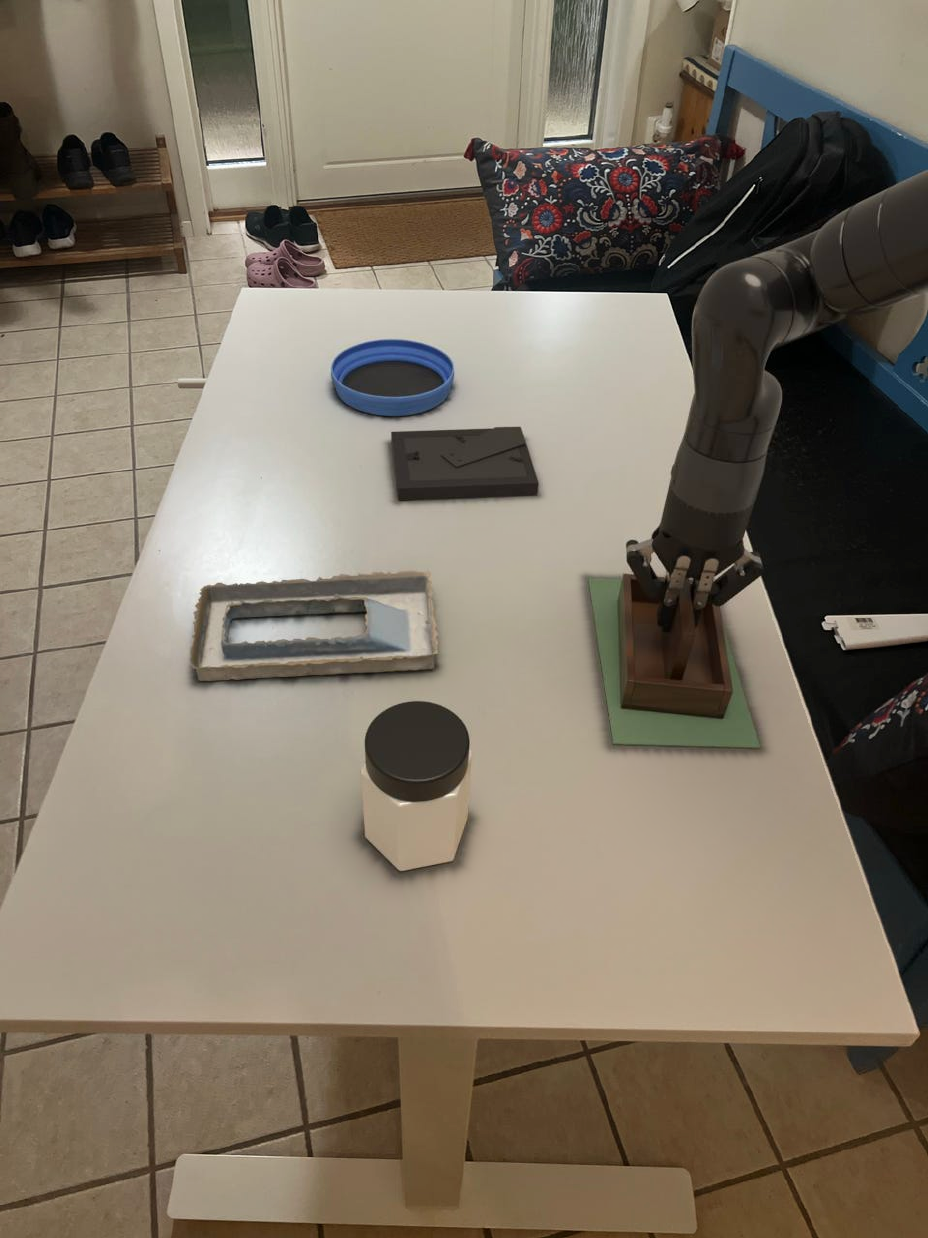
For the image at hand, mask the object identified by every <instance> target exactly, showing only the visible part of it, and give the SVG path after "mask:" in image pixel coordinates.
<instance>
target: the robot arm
mask: <svg viewBox="0 0 928 1238" xmlns="http://www.w3.org/2000/svg"><path fill="white" fill-rule="evenodd" d="M927 293H928V169H926V170H924V171H921V172H920V173H917V174H915V175H913V176H910V177H909V178H906V179H905V180H901V181H900V182H897V183H896V184H894V185H892V186H889V187H888V188H886V189H883V190H882V191H880V192H878V193H876V194H874V195H872V196H869V197H868V198H865V199H864V200H861V201H860V202H857V203H855V204H854V205H852V206H850V207H847V208H846V209H844V210H843V211H841V212H840V213H837V214H835V216H833V217H831V218H830V219H829V220H828V221H826V223H824V224H823V225H822V227H820V228H819V229H816V230H813V232H810V233H808V234H806V235H804V236H802V237H799V238H796V239H794V240H792V241H789V242H787V243H784V244H782V245H780V246H777V247H774V248H772V249H768V250H765V251H763V252H759V253H757V254H754V255H751V256H748V257H745V258H741V259H738V260H735V261H732V262H730V263H727V264H725V265H723V266H722V267H719V269H717V270H715V272H713V273H712V275H711V276H710V277H709V278H708V279H707V281H706V282H705V283H704V285H703V287H702V289H701V291H700V293H699V295H698V296H697V299H696V302H695V305H694V309H693V313H692V318H691V351H692V355H691V356H692V375H693V387H694V388H693V389H694V392H693V396H692V399H691V403H690V408H689V411H688V416H687V420H686V425H685V429H684V433H683V437H682V439H681V442H680V445H679V446H678V449H677V451H676V456H675V459H674V463H673V464H672V465H671V470H670V480H669V483H668V489H667V493H666V497H665V502H664V507H663V510H662V515H661V519H660V522H659V525H658V526H657V527H656V529H655V530H654V531H653V532H652V534H651V537H650V538H649V539H646V540H643V541H640V542H638V540H636V539H629V540H628V541H626V543H625V554H626V556H625V557H626V563H627V565H628V566H629V569H630V570H631V573H632V574H634V575H635V577H636V579H637V581H638V582H639V584H640V586H641V588H642V589H643V591H644V593H645V594H646V596H647V598H648V599H651V600H655V599H659V600H660V602H659V606H658V610H657V623H658V626H660V627H662V632H670V630H671V626H672V622H673V618H674V615H675V611H676V602H677V599H678V595H679V592H680V590H682V587H683V583H684V580H685V578H689V579H692V580H693V581H692V585H691V598H692V606H693V614H694V623H695V628H696V627H697V624H698V621H699V618H700V614H701V611H702V608H704V607H705V605H708V604H713V605H715V606H720V607H722V606H724V605H725V604H726V603H728V602H729V601H730V600H732V599H733V598H734V597H736V596H737V595H738V594H740V593H741V592H742V591H743V590H745V589H746V588H748V586H750V585H751V584H752V583H754V582H755V581H756V580H757V579H759V578H760V577H761V576H763V574H764V568H763V562H762V559H761V558H762V557H761V555H760V553H759V552H758V551H755V550H754V551H749V550H748V549H746V548H745V545H744V537H745V534H746V531H747V528H748V525H749V522H750V519H751V516H752V511H753V510H754V505H755V504H756V503H755V502H756V499H757V496H758V493H759V489H760V486H761V483H762V480H763V477H764V474H765V473H764V472H765V470H766V469H765V468H766V462H767V455H768V452H769V451H768V450H769V448H770V444H771V442H772V438H773V434H774V433H775V428H776V425H777V422H778V418H779V415H780V411H781V407H782V402H783V389H782V386H781V384H780V383H779V381H778V379H777V377H775V375H773V374H771V373H770V372H769V371H767V370H765V368H766V364H767V361H768V358H769V356H770V354H771V353H772V351H774V350H776V349H779V348H781V347H783V346H786V345H788V344H791V343H792V342H796V341H797V340H800V339H802V338H805V337H807V336H810V335H812V334H814V333H817V332H819V331H821V330H823V329H827V328H828V327H831V326H832V325H835V324H837V323H840V322H842V321H844V320H846V319H849V318H851V317H853V316H861V315H866V314H867V315H868V314H870V313H874V312H878V311H881V310H884V309H888V308H889V307H892V306H894V305H895V306H896V305H898V304H900V303H903V302H906V301H909V300H912V299H915V298H917V297H919V296H922V295H925V294H927ZM653 553H655V555H656V557H657V558H658V561H660V563H661V564H662V566H663V568H664V569H665V575H664V577H665V578H664V582H663V581H661V580H658V577H659V576H658V575H657V574H656V572H655V570H654V568H653V566H652V565H651V562H652V554H653ZM729 567H730V568H729ZM725 570H726V571H725ZM722 572H723V573H722ZM721 573H722V574H721ZM720 574H721V575H720ZM717 576H718V577H717ZM715 577H717V578H716V579H715ZM714 579H715V580H714Z"/></svg>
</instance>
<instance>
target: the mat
mask: <svg viewBox="0 0 928 1238" xmlns="http://www.w3.org/2000/svg"><path fill="white" fill-rule="evenodd" d="M587 582H588V589H589V594H590V601H591V607H592V612H593V613H592V615H593V621H594V628H595V635H596V640H597V647H598V655H599V661H600V667H601V674H602V680H603V687H604V693H605V694H604V695H605V700H606V707H607V713H608V714H607V715H608V721H609V728H610V734H611V740H612V745H614V746H615V745H616V746H645V747H647V746H648V747H649V746H651V747H683V748H684V747H688V748H689V747H690V748H720V749H721V748H722V749H755V750H756V749H758V750H759V749H761V746H760V742H759V738H758V736H757V732H756V729H755V725H754V722H753V719H752V716H751V713H750V710H749V706H748V703H747V698H746V695H745V693H744V689H743V685H742V682H741V680H740V675H739V673H738V670H737V666H736V663H735V660H734V656H733V653H732V650H731V646H730V643H729V639H728V637H727V634H726V633H727V632H726V630H725V627H724V626H723V629H724V636H725V642H726V648H727V655H728V661H729V668H730V674H731V681H732V687H733V693H732V696H731V699H730V702H729V705H728V707H727V710H726V713H725V716H724V718H723V719H720V718H709V717H700V716H690V715H681V714H671V713H661V712H652V711H642V710H633V709H623V708H621V703H620V668H619V633H618V596H619V591H620V586H621V582H622V578H620V579H619V578H591V577H590V578H589V577H588V578H587Z"/></svg>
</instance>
